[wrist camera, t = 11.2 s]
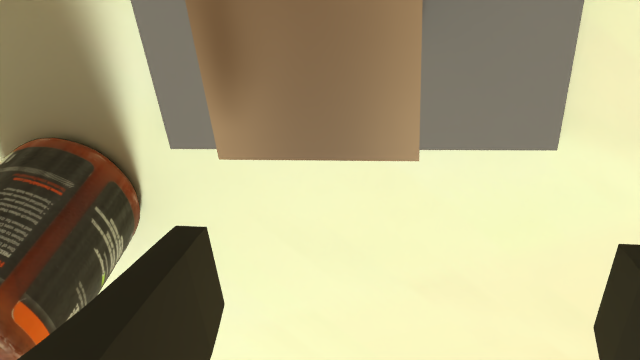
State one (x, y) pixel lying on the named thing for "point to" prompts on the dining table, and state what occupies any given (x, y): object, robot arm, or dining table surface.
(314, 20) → the walnut block
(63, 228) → the supplement bottle
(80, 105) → the dining table surface
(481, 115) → the mat
